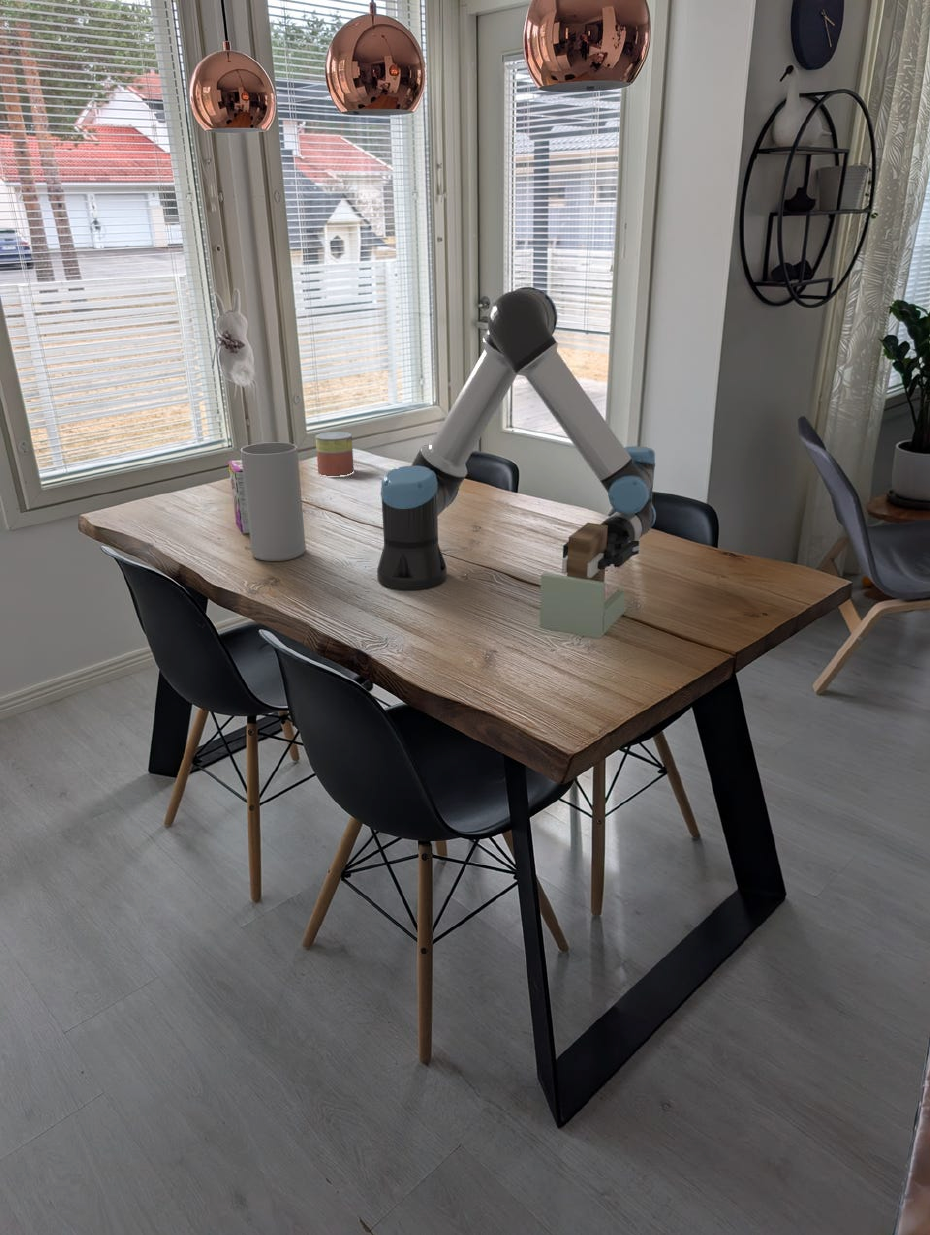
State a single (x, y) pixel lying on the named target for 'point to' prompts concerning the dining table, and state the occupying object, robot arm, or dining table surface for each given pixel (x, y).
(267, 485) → the cylinder vase
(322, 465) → the canned food
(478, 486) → the dining table surface
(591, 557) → the walnut block
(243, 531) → the candy bar box
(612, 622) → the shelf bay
